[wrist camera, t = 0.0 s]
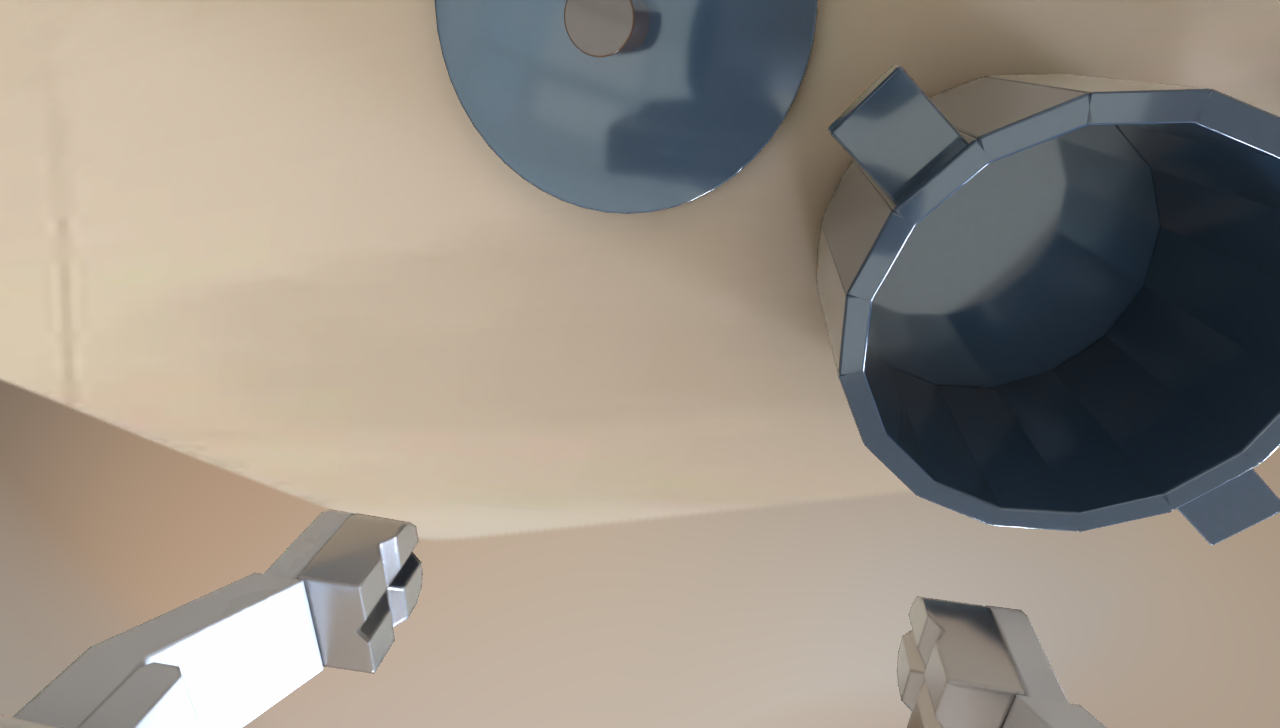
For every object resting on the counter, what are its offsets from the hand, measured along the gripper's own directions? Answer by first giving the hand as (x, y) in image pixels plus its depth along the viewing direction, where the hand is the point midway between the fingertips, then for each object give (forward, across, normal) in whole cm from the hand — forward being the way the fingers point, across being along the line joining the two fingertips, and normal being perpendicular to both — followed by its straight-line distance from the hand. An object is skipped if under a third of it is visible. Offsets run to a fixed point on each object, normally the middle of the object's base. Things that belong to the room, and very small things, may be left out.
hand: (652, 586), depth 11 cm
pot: (+21, -11, -1) cm, 24 cm away
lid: (+20, +5, -9) cm, 23 cm away
